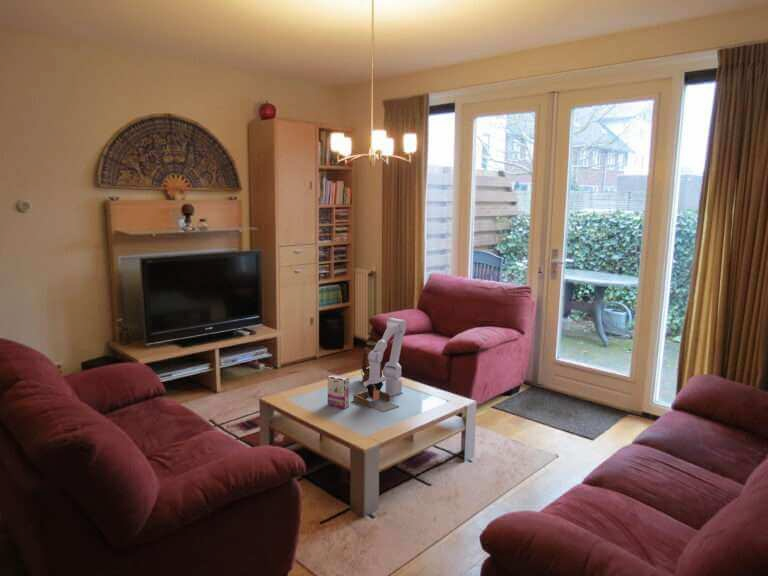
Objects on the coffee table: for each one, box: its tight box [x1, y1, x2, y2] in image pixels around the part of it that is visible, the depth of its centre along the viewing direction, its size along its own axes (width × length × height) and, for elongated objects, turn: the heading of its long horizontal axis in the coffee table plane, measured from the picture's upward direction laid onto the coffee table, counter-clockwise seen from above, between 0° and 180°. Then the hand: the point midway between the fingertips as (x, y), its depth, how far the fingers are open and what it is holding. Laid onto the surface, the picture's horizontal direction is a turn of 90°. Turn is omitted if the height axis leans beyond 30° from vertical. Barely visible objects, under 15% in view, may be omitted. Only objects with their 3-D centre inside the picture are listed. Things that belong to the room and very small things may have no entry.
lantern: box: [360, 334, 383, 387], centre depth 332 cm, size 17×13×30 cm
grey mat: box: [372, 401, 400, 413], centre depth 295 cm, size 12×8×1 cm, turn 132°
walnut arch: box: [352, 390, 391, 409], centre depth 304 cm, size 16×13×4 cm
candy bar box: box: [327, 374, 350, 410], centre depth 294 cm, size 11×5×16 cm, turn 62°
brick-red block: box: [368, 387, 380, 401], centre depth 302 cm, size 4×4×5 cm
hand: (374, 396), depth 302 cm, fingers closed on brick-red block, 4 cm apart
